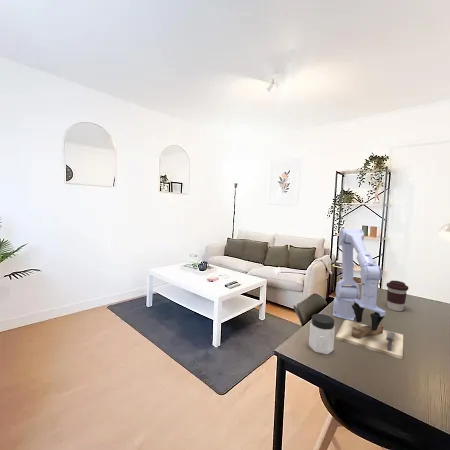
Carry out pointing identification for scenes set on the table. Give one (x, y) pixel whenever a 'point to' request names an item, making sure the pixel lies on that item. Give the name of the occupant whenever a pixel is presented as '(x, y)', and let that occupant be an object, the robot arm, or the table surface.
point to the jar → (322, 333)
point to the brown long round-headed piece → (366, 331)
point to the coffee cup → (396, 295)
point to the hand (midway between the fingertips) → (366, 325)
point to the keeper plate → (373, 340)
